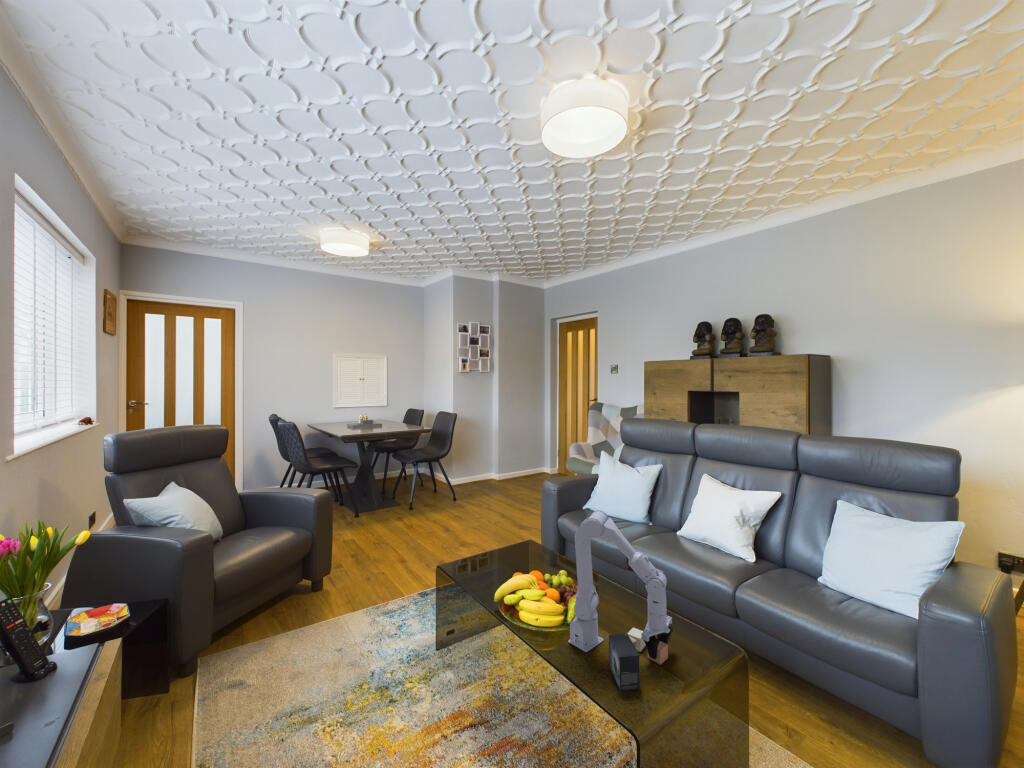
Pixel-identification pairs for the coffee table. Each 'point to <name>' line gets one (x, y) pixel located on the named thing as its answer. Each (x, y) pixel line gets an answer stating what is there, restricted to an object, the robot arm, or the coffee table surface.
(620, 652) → the small box
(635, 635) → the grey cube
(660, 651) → the terracotta cube
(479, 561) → the coffee table surface
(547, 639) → the coffee table surface
